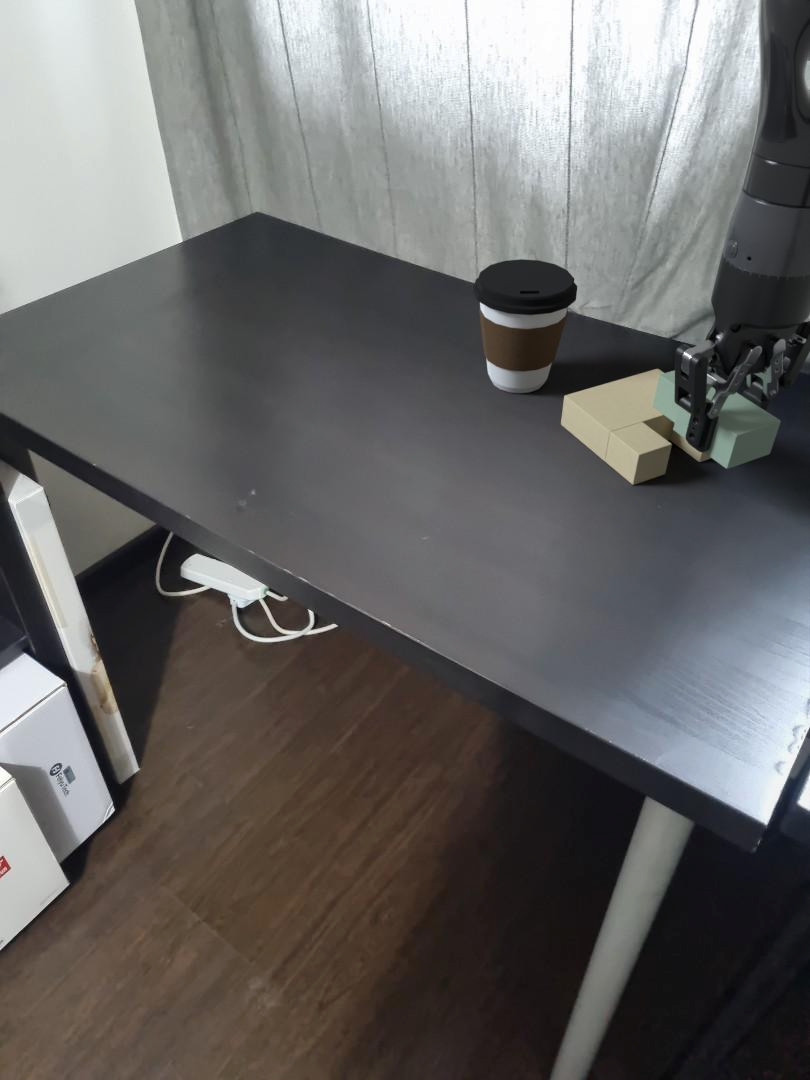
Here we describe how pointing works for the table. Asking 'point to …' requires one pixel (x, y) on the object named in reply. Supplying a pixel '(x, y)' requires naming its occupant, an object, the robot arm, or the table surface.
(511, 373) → the coffee cup
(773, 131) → the robot arm
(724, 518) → the table surface
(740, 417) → the pad
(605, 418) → the notch pad
